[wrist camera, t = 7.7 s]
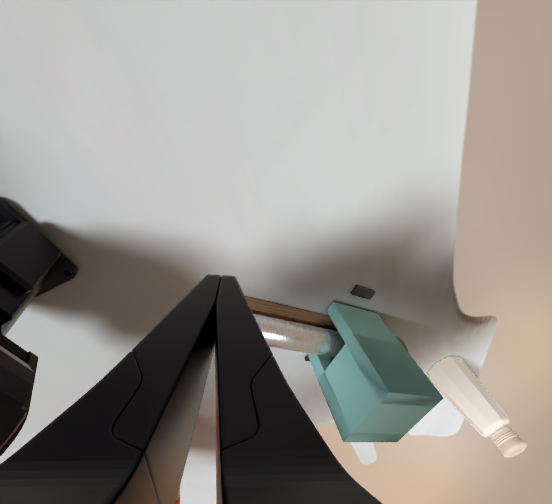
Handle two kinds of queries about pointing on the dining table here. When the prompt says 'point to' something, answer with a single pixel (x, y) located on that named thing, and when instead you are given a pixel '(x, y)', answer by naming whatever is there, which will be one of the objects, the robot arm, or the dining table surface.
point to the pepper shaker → (475, 404)
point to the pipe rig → (301, 327)
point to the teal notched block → (372, 380)
